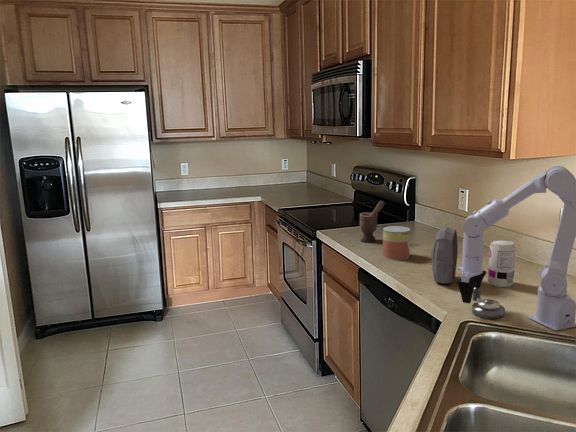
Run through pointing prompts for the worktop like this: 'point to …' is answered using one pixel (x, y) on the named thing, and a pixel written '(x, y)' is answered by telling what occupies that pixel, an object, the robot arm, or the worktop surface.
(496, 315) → the stand
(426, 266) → the worktop surface
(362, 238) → the mortar and pestle
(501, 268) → the supplement can
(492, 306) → the capstan dial
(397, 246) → the canned food
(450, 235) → the grey rounded bag
